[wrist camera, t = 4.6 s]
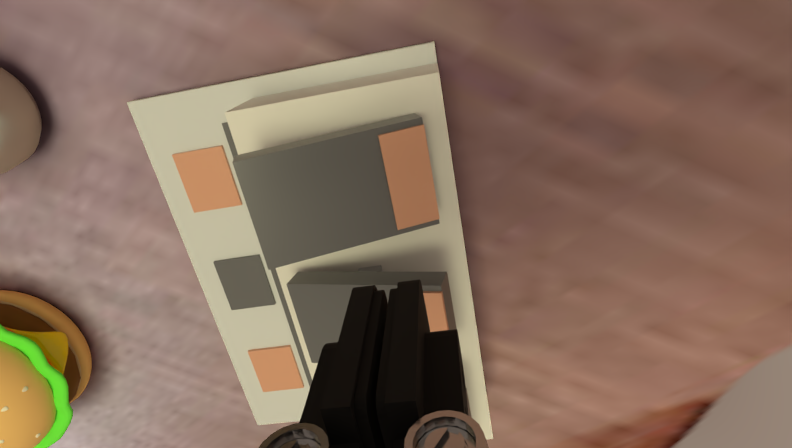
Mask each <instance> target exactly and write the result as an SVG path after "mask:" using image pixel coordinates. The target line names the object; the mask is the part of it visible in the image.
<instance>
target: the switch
mask: <svg viewBox="0 0 792 448" xmlns="http://www.w3.org/2000/svg"><path fill="white" fill-rule="evenodd" d="M232 163H233V166H234V169H235V172H236V175H237V178H238V181H239V184H240V187H241V190H242V193H243V196H244V199H245V202H246V205H247V208H248V211H249V214H250V217H251V220H252V223H253V225H254V228H255V231H256V234H257V237H258V240H259V243H260V246H261V249H262V252H263V255H264V258H265V261H266V264H267V267H268V270H270V269H274V268H278V267H281V266H285V265H289V264H292V263H296V262H300V261H304V260H307V259H311V258H315V257H318V256H322V255H326V254H329V253H333V252H337V251H340V250H344V249H348V248H352V247H355V246H359V245H363V244H366V243H370V242H374V241H377V240H381V239H385V238H389V237H392V236H396V235H400V234H403V233H407V232H411V231H414V230H418V229H422V228H425V227H429V226H433V225H437V224H440V222H439V219H440V218H439V212H438V206H437V200H436V194H435V188H434V182H433V176H432V170H431V164H430V158H429V152H428V146H427V140H426V134H425V128H424V124H423V121H422V117H421V116H419V115H417V114H415V113H413V114H409V115H405V116H400V117H396V118H392V119H388V120H383V121H379V122H375V123H371V124H367V125H362V126H358V127H354V128H350V129H345V130H341V131H337V132H333V133H329V134H324V135H320V136H316V137H312V138H307V139H303V140H299V141H295V142H291V143H286V144H282V145H278V146H274V147H269V148H265V149H261V150H257V151H253V152H248V153H244V154H240V155H236V156H234V159H233V162H232Z"/></svg>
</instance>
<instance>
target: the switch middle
mask: <svg viewBox="0 0 792 448" xmlns="http://www.w3.org/2000/svg"><path fill="white" fill-rule="evenodd" d="M419 279H420V280H421V284H422V289H423V295H424V300H425V305H426V311H427V316H428V322H429V327H430V332H435V331H444V330H453V329H457V328H456V322H455V316H454V310H453V304H452V298H451V292H450V286H449V280H448V274H447V272H297V273H296V274H295V275H294V276H293V277H292V279H291V280H290V281H289V282H288V283H287V284H286V285H287V288H288V291H289V294H290V297H291V300H292V303H293V306H294V309H295V312H296V315H297V319H298V322H299V325H300V328H301V331H302V334H303V337H304V340H305V343H306V346H307V349H308V353H309V356H310V359H311V362H312V363H318V361H319V358H320V354H321V351H322V348H323V346H324V345H325V344H326V343H334V342H338V340H339V336H340V332H341V329H342V325H343V321H344V318H345V314H346V310H347V306H348V303H349V299H350V295H351V292H352V289H353V288H355V287H363V286H371V285H375V286H376V288H377V290H384V291H385V293H386V297H387V302H388V300H389V293H390V289H394V288H397V284H398V282H403V281H411V280H419Z"/></svg>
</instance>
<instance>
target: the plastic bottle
mask: <svg viewBox="0 0 792 448" xmlns="http://www.w3.org/2000/svg"><path fill="white" fill-rule="evenodd" d="M41 130H42V120H41V116H40V111H39V109H38V106H37V104H36V102H35V100H34V98H33V97H32V95H31V93H30V92H29V91H28V90H27V88H26V87H25V86H24V85H23V84H22V83H21V82H20V81H19V80H18V79H17V78H16V77H14V76H13V75H12V74H10V73H9V72H7V71H6V70H4V69H3V68H1V67H0V174H3V173H6V172H8V171H9V170H11V169H13V168H14V167H16V166H17V165H19V164H20V163H22V162H23V161H25V160H26V159H28V158H29V157H30V156H31V155H32V154H33V153H34V152H35V150H36V148H37V146H38V144H39V139H40V135H41Z"/></svg>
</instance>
